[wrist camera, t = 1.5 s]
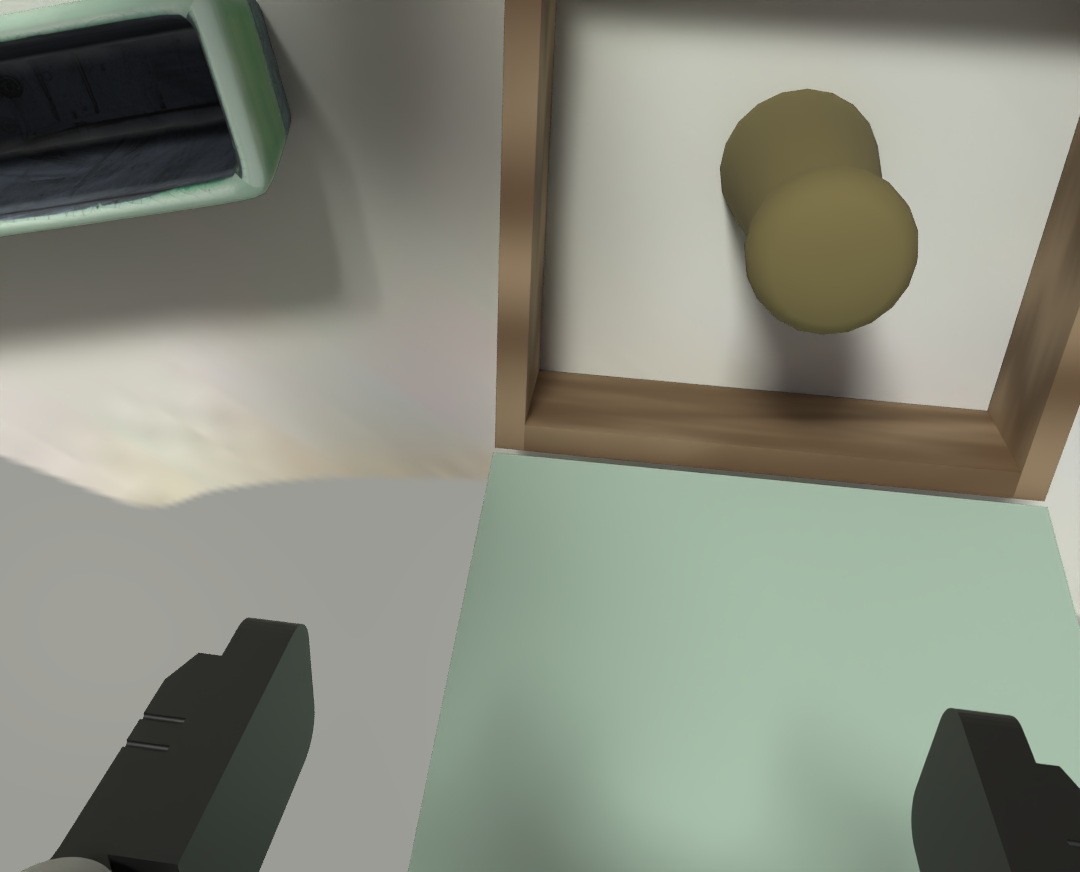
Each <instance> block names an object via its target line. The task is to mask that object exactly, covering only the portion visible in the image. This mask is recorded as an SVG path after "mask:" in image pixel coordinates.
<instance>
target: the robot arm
mask: <svg viewBox="0 0 1080 872" xmlns="http://www.w3.org/2000/svg"><path fill="white" fill-rule="evenodd" d="M313 726H314V698H313V685H312V673H311V661H310V648H309V636H308V631H307V628H306V626H305V625H303V624H296V623H287V622H280V621H272V620H264V619H256V618H246V619H245V620H243V622H242V623H241V624H240V625H239V627H238V629H237V630H236V632H235V634H234V636H233V637H232V639H231V641H230V643H229V644H228V646H227V648H226V649H225V651H224V653H223V655H222V656H218V655H211V654H204V653H198V654H197V655H195V656H194V657H193V658H192V659H190V660H189V661H188V662H187V663H185V664H184V665H183V666H182V667H180V668H179V669H178V670H176V671H175V672H174V673H173V674H171V675H170V676H169V677H168V678H166V679H165V680H164V682H163V683H162V685H161V686H160V688H159V690H158V691H157V693H156V694H155V696H154V698H153V699H152V701H151V702H150V704H149V706H148V707H147V709H146V710H145V712H144V717H143V719H140V720H139V721H138V723H137V725H136V726H135V728H134V729H133V731H132V733H131V734H130V736H129V737H128V739H127V744H126V746H125V747H122V748H121V750H120V752H119V753H118V755H117V756H116V758H115V760H114V761H113V763H112V764H111V766H110V768H109V769H108V771H107V772H106V774H105V775H104V777H103V779H102V780H101V782H100V783H99V785H98V786H97V788H96V790H95V791H94V793H93V794H92V796H91V798H90V799H89V801H88V802H87V804H86V806H85V807H84V809H83V810H82V812H81V813H80V815H79V817H78V818H77V820H76V822H75V823H74V825H73V826H72V828H71V829H70V831H69V832H68V834H67V836H66V837H65V839H64V840H63V842H62V844H61V845H60V847H59V848H58V849H57V851H56V852H55V854H54V855H53V857H52V858H51V859H50V860H48V861H45V862H41V863H38V864H36V865H34V866H31V867H29V868H27V869H25V870H23V871H21V872H259V870H260V868H261V865H262V863H263V860H264V858H265V856H266V853H267V851H268V849H269V846H270V844H271V841H272V839H273V837H274V834H275V832H276V829H277V827H278V825H279V822H280V820H281V817H282V815H283V812H284V810H285V808H286V805H287V803H288V800H289V798H290V796H291V793H292V791H293V788H294V786H295V783H296V781H297V779H298V776H299V774H300V772H301V769H302V767H303V764H304V762H305V759H306V757H307V753H308V750H309V747H310V743H311V738H312V733H313ZM911 829H912V839H913V844H914V849H915V853H916V857H917V861H918V866H919V870H920V872H1080V788H1079V787H1078V786H1077V785H1076V784H1075V783H1074V782H1073V780H1072V779H1071V778H1070V777H1069V776H1068V775H1067V774H1066V773H1065V771H1064V770H1063V769H1062V768H1061V767H1060V766H1055V765H1048V764H1040V763H1036V761H1035V759H1034V756H1033V754H1032V751H1031V749H1030V746H1029V744H1028V741H1027V738H1026V736H1025V733H1024V731H1023V729H1022V726H1021V724H1020V723H1019V721H1018V720H1017V719H1016V718H1015V717H1014V716H1012V715H1004V714H996V713H988V712H980V711H972V710H964V709H956V708H948V709H946V711H945V712H944V713H943V715H942V717H941V719H940V722H939V725H938V727H937V730H936V733H935V736H934V738H933V741H932V744H931V747H930V750H929V752H928V755H927V758H926V761H925V764H924V766H923V769H922V772H921V775H920V777H919V780H918V783H917V786H916V789H915V792H914V796H913V802H912V811H911Z"/></svg>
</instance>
